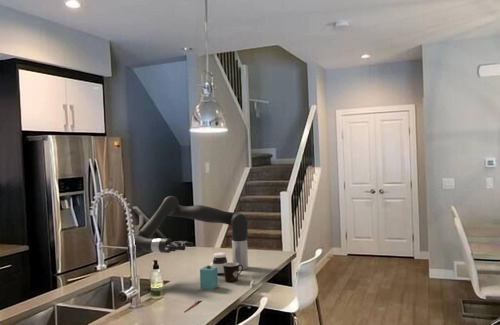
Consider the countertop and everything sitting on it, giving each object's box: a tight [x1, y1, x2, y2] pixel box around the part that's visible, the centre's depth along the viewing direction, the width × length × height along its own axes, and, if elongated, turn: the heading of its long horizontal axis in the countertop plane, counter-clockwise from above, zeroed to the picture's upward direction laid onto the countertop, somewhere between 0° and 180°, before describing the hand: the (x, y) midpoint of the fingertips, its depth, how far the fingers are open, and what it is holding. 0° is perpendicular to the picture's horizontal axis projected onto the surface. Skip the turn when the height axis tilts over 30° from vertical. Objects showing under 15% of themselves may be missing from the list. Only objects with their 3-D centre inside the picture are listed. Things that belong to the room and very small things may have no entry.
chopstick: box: [183, 300, 203, 313], centre depth 202 cm, size 2×24×1 cm, turn 160°
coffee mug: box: [223, 261, 244, 284], centre depth 234 cm, size 12×9×10 cm
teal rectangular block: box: [199, 264, 219, 290], centre depth 222 cm, size 7×7×11 cm
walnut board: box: [197, 284, 222, 292], centre depth 222 cm, size 10×10×1 cm
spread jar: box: [209, 252, 228, 276], centre depth 254 cm, size 12×11×12 cm
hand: (189, 246), depth 226 cm, fingers open, 8 cm apart
